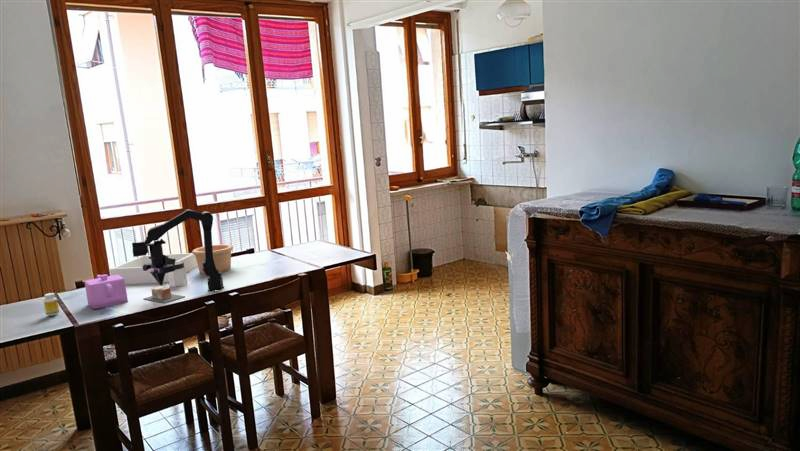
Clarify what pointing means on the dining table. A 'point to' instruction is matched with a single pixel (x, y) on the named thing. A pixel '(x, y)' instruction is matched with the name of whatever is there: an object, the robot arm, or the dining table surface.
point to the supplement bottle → (51, 304)
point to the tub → (135, 273)
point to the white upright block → (178, 275)
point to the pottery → (215, 257)
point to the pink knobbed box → (106, 291)
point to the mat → (172, 298)
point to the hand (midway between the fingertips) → (161, 285)
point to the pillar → (161, 292)
